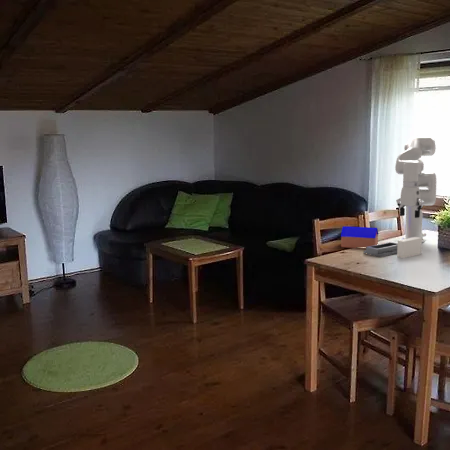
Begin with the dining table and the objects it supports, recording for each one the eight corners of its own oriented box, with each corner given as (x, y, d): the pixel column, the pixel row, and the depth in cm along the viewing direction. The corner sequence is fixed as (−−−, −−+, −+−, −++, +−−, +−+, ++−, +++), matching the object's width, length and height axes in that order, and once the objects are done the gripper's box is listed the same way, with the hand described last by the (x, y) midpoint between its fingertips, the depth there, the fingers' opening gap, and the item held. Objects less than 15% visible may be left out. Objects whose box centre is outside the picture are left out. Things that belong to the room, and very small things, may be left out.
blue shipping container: (375, 249, 314) (375, 229, 312) (340, 247, 322) (340, 228, 320) (378, 245, 325) (378, 226, 323) (344, 243, 333) (344, 224, 331)
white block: (415, 252, 302) (415, 236, 301) (421, 254, 299) (421, 237, 297) (397, 256, 294) (397, 240, 293) (403, 258, 291) (403, 241, 289)
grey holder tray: (387, 248, 315) (387, 241, 314) (404, 251, 305) (404, 244, 304) (363, 253, 304) (363, 246, 303) (380, 257, 294) (380, 249, 293)
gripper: (428, 185, 285) (427, 217, 288) (401, 183, 300) (401, 214, 302) (419, 186, 281) (418, 219, 284) (392, 184, 296) (391, 215, 298)
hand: (409, 216), depth 293 cm, fingers open, 9 cm apart
